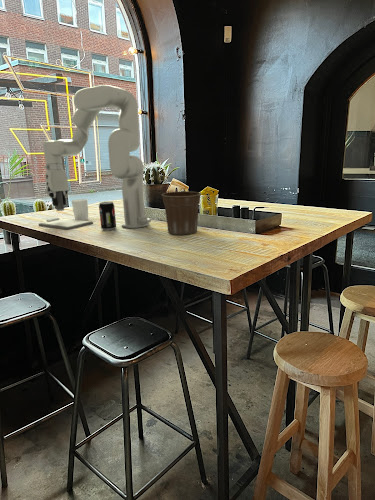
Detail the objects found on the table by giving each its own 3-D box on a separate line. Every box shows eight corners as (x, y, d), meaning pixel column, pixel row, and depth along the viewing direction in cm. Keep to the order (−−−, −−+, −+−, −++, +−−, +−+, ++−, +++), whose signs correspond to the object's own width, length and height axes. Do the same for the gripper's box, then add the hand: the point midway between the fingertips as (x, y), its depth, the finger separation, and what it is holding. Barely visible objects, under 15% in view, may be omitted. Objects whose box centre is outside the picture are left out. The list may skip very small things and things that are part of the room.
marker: (66, 209, 184) (63, 185, 181) (59, 211, 181) (55, 186, 177) (61, 209, 186) (57, 185, 183) (54, 210, 183) (50, 186, 180)
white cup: (85, 220, 189) (83, 201, 186) (71, 220, 190) (68, 201, 187) (91, 217, 196) (89, 198, 193) (77, 217, 197) (75, 199, 195)
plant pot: (206, 228, 160) (205, 190, 156) (197, 237, 145) (195, 196, 141) (170, 227, 165) (168, 191, 160) (158, 236, 150) (155, 196, 145)
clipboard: (92, 223, 180) (92, 219, 180) (67, 229, 169) (66, 225, 168) (64, 220, 193) (64, 216, 192) (38, 225, 181) (38, 221, 180)
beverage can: (113, 230, 163) (110, 203, 159) (98, 230, 164) (96, 203, 161) (118, 227, 169) (116, 201, 166) (105, 227, 170) (102, 201, 167)
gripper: (43, 168, 169) (49, 208, 174) (73, 166, 182) (78, 203, 187) (34, 168, 173) (40, 207, 178) (64, 166, 187) (68, 202, 191)
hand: (59, 204), depth 183 cm, fingers closed on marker, 4 cm apart
